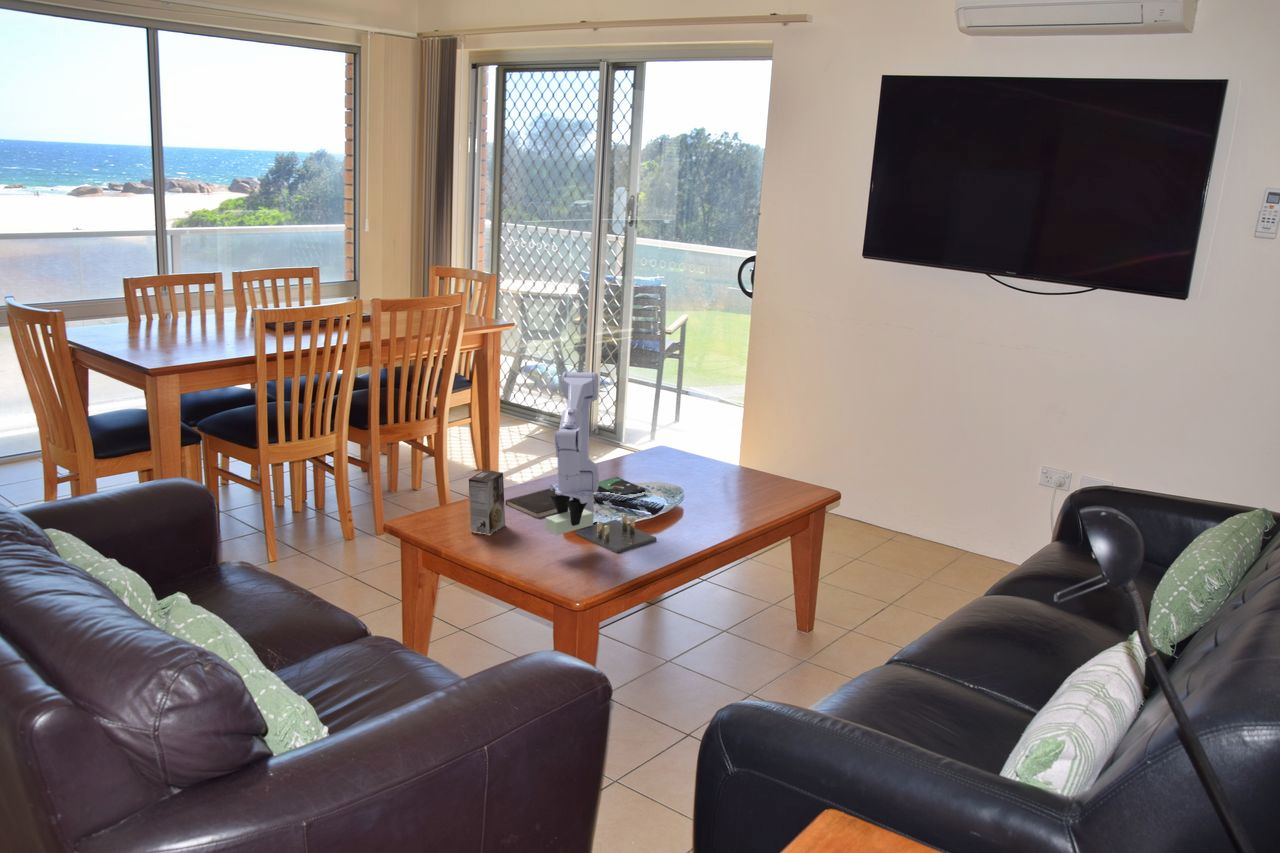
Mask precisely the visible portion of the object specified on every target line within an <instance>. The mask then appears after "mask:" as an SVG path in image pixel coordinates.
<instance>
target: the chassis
mask: <svg viewBox="0 0 1280 853" xmlns="http://www.w3.org/2000/svg"><path fill="white" fill-rule="evenodd" d="M621 516H622V518H621V519H622V521H619V520H617V519H613V520H610V521H607V522H602V521H600V522H597V523H596V525H595V524H594V525H592V526H588V527H585V528H581V529H577V530H575V531H576V532H575V534H576V535H578V536H579V537H582V538H583V539H586V540H587V541H589V542H592V543H594V544H597V545H599V546H601V547H603V548H604V549H607V550H609V551H611V552H613V553H616V554H618V553H621V552H622V553H623V552H625V551H628V550H631V549H634V548H638V547H640V546H644V545H648V544H650V543H654V542H656V541H657V537H656V536H654V535H651V534H649V533H647V532H644V531H642V530H640V529H638V528H635V526H636V524H635V523H636V522H635V521H636V520H635V518H634V517H629V524H628V514H622V515H621Z"/></svg>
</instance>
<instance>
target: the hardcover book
mask: <svg viewBox="0 0 1280 853" xmlns="http://www.w3.org/2000/svg"><path fill="white" fill-rule="evenodd" d="M554 493H555V490H554V491H552V490H550V487H549V488H546V489H542V490H539V491H535V492H531V493H527V494H524V495H520V496H516V497H513V498H509V499H505V505H506V506H509V507H511V508H514V509H516V510H518V511H520V512H523V513H525V514H528V515H530V516H532V517H533V518H537V519H538V518H542V517H547V516H550V515H553V514H556V513H558V512H557V509H556V506H555V504H554V502H553V500H552V498H551V494H554ZM596 495H597V494H594V498H595V497H596ZM596 498H597V497H596Z"/></svg>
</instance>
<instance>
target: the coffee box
mask: <svg viewBox="0 0 1280 853" xmlns="http://www.w3.org/2000/svg"><path fill="white" fill-rule="evenodd" d="M468 491H469V493H468V494H469V496H468V497H469V513H470V514H469V515H470V532H471V531H476V532H481V533H486V534H491V533H493V532H495V531H496V532H498V531H499V530H500V529H501V528H503V527H505V526H506V517H505V516H506V514H505V509H506V508H505V492H504V491H505V489H504V472H500V471H495V470H488V469H483V470H481V471H480V472H478V473H476V474H474V475H473V476H471V477H469V478H468ZM498 529H499V530H498ZM496 532H495V533H496ZM493 534H494V533H493Z"/></svg>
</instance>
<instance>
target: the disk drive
mask: <svg viewBox="0 0 1280 853" xmlns="http://www.w3.org/2000/svg"><path fill="white" fill-rule="evenodd" d="M599 492H610V493H615V494H620V495H629V494H637V493H642V492H645V493H646V488H644V487H643V486H639V485H637V484H634V483H632V482H630V481H627V480H625V479H623V478H621V477H618V476H616V477H612V478H608V479H607V478H606V479H604V480H601V481H600V480H599V485H598V490H597V491H596V492H595V493H599Z"/></svg>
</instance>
